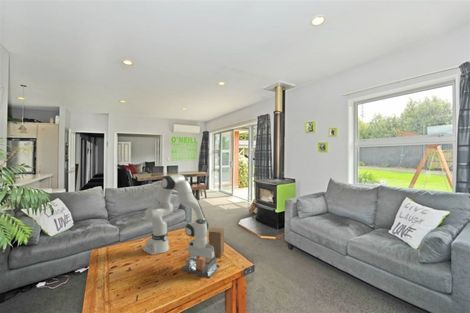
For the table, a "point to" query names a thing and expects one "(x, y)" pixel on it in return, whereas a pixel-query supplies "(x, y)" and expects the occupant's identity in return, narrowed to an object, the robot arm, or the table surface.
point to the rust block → (200, 263)
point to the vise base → (207, 270)
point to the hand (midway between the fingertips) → (201, 262)
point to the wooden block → (217, 240)
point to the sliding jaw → (190, 261)
